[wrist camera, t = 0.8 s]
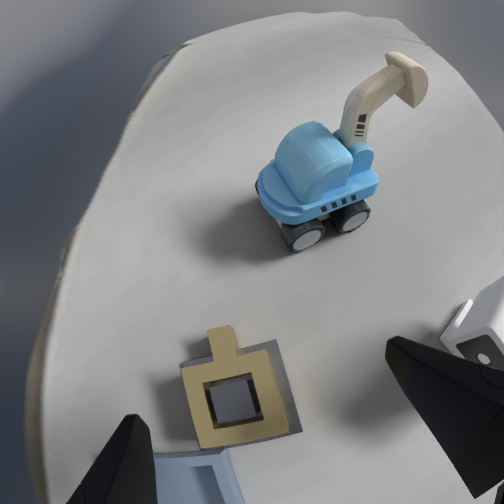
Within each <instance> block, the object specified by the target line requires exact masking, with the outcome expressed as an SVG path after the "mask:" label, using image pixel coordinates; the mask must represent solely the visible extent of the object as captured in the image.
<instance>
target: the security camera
mask: <svg viewBox="0 0 504 504" xmlns="http://www.w3.org/2000/svg"><path fill="white" fill-rule="evenodd" d="M440 340H441V342H442V343H443V344H444V345H445V346H446V347H447V349H448V350H449V351H450V352H451V353H452V355H455V356H458V357H461V358H464V359H467V360H470V361H473V362H476V363H477V364H478V363H479V364H482V365H485V366H489V367H492V368H496V369H500V370H504V276H503V277H501V278H500V279H498V280H497V281H495V282H494V283H492V284H491V285H489V286H488V287H486V288H485V289H483V290H482V291H480V292H479V294H478V296H477V297H476V299H475V301H474V303H473V301H472V300H471V299H469V300H467V301H466V302H464V303H463V304H462V306H461V307H460V309H459V310H458V312H457V313H456V315H455V316H454V318H453V319H452V321H451V322H450V324H449V325H448V327H447V328H446V330H445V331H444V333H443V334H442V335H441V337H440Z"/></svg>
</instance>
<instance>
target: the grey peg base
mask: <svg viewBox="0 0 504 504" xmlns="http://www.w3.org/2000/svg"><path fill="white" fill-rule="evenodd" d="M263 349H266V350H267V352H268V354H269V357H270V361H271V364H272V368H273V371H274V375H275V378H276V382H277V385H278V389H279V392H280V396H281V400H282V403H283V406H284V410H285V413H286V417H287V420H288V424H289V432H288V433H284V434H281V435H276V436H272V437H268V438H263V439H259V440H254V441H249V442H243V443H238V444H232V445H225V446H218V447H211V448H204V450H205V451H208V450H216V449H223V448H230V447H236V446H242V445H248V444H253V443H258V442H263V441H267V440H272V439H276V438H280V437H284V436H288V435H292V434H296V433H299V432H303V431H302V427H301V424H300V420H299V417H298V413H297V410H296V406H295V403H294V399H293V396H292V392H291V389H290V386H289V382H288V379H287V375H286V372H285V368H284V365H283V361H282V358H281V354H280V351H279V347H278V344H277V340H276V339H275V340H272V341H268V342H265V343H261V344H257V345H254V346H250V347H246V348H242V349H239V353H240V355H244V354H248V353H251V352H255V351H259V350H263ZM210 362H214V359H213V356H209V357H204V358H200V359H195V360H190V361H185V362H183V366H184V368H185V367H191V366H196V365H200V364H205V363H210ZM209 390H210V394H211V398H212V402H213V405H214V409H215V413H216V417H217V420H218V423H222V422H224V423H228V422H233V421H238V420H243V419H248V418H253V417H257V416H262V415H263V413H262V410H261V406H260V402H259V399H258V395H257V392H256V388H255V384H254V381H253V377H252V374H249V375H245V376H241V377H237V378H232V379H228V380H223V381H218V382H214V387H210V388H209Z"/></svg>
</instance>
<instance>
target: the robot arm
mask: <svg viewBox="0 0 504 504" xmlns="http://www.w3.org/2000/svg"><path fill="white" fill-rule="evenodd" d="M385 359H386V361H387V363H388V365H389V367H390V369H391V370H392V372H393V374H394V376H395V378H396V379H397V381H398V383H399V385H400V387H401V388H402V390H403V392H404V393H405V395H406V396H407V398H408V399H409V400H410V402H411V403H412V405H413V406H414V408H415V409H416V410H417V412H418V413H419V415H420V416H421V418H422V419H423V420H424V422H425V423H426V425H427V426H428V428H429V429H430V431H431V432H432V434H433V435H434V437H435V438H436V439H437V441H438V442H439V444H440V445H441V447H442V448H443V450H444V451H445V453H446V454H447V456H448V458H449V459H450V461H451V462H452V464H453V465H454V467H455V469H456V470H457V472H458V473H459V475H460V476H461V478H462V480H463V481H464V483H465V484H466V486H467V488H468V489H469V491H470V493H471V494H472V496H473V497H474V499H476V498H477V497H479V496H481V495H482V494H484V493H485V492H487V491H488V490H489V489H491V488H492V487H494V486H495V485H497V484H498V483H499V482H501V481H502V480H503V479H504V370H500V369H496V368H492V367H489V366H485V365H482V364H479V363H478V364H477V363H476V362H473V361H470V360H467V359H464V358H461V357H458V356H455V355H452V354H449V353H446V352H443V351H440V350H437V349H434V348H432V347H429V346H426V345H423V344H420V343H417V342H414V341H412V340H409V339H406V338H403V337H400V336H394V337H392V338H390V339H389V340H388V341H387V344H386V352H385ZM66 504H158V499H157V487H156V472H155V463H154V456H153V450H152V444H151V436H150V430H149V428H148V426H147V425H146V423H145V422H144V421H143V420H142V419H141V418H140V416H139V415H137V414H128V415H126V416H125V417H124V419H123V420H122V422H121V423H120V424H119V426H118V427H117V429H116V430H115V432H114V433H113V435H112V436H111V438H110V439H109V441H108V442H107V444H106V445H105V447H104V448H103V450H102V451H101V453H100V454H99V456H98V457H97V459H96V460H95V462H94V463H93V465H92V466H91V468H90V469H89V471H88V472H87V474H86V475H85V477H84V478H83V480H82V481H81V484H80V485H79V486H78V487H77V489H76V490H75V492H74V493H73V495H72V496H71V498H70V499H69V500H68V502H67V503H66ZM494 504H504V482H503V483H502V484H501V485H500V486H499V487H498V490H497V494H496V499H495V503H494Z"/></svg>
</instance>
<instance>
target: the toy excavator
mask: <svg viewBox="0 0 504 504" xmlns="http://www.w3.org/2000/svg"><path fill="white" fill-rule="evenodd" d="M385 57H386V60H387V64H388V66H387V67H385V68H384V69H382V70H381V71H379V72H377V73H376V74H374V75H373V76H371V77H370V78H368V79H367V80H365V81H364V82H362V83H361V84H359V85H358V86H357V87H356V88H355V89H353V90H352V92H351V93H350V94H349V96H348V98H347V100H346V102H345V106H344V111H343V116H342V121H341V126H340V129H339V130H337V131H335V132H334V133H333V134H332V133H331V132H330V131H329V130H328V129H326V128H325V127H324V126H323V125H322V124H321V123H319V122H316V121H312V122H308V123H305V124H302V125H299V126H297V127H296V128H294V129H293V130H291V131H290V132H289V133H288V134H287V135H286V136H285V137H284V139H283V140H282V141H281V143H280V145H279V147H278V149H277V151H276V155H275V159H273V160H271V162H270V164H268V165H267V166H265V167H264V168H263V169H262V170H261V172H260V173H259V176H258V179H257V181H256V183H255V188H256V191H257V194H259V198H260V201H261V203H262V205H263V207H264V208H265V210H266V211H267V212H268V213H269V214H270V215H271V216H272V217H274V218H275V219H276V221H277V223H278V224H279V226H280V228H281V237H282V238H283V240H284V242H285V243H286V245H287V247H288V248H289V250H290V251H292V252H301V251H302V250H303V249H305V248H308V247H310V246H311V245H313V244H314V243H317V242H318V241H319V240H320V239H321V238H322V237H323V236H324V233H325V227H324V226H323V225H322V223H321V222H320V221H321V220H324V219H327V218H329V217H330V219H331V220H332V222H333V224H334V225H335V227H336V228H337V230H338V232H340V233H345V232H346V231H349V230H350V231H349V232H351V231H353V230H355V229H356V228H358V227H360V226H361V225H362V224H364V222H365V221H366V220H367V219H368V217H369V213H370V212H371V209H370V208H369V207H368V205H367V204H366V203H365V201H364V200H363V199H365V198H368V197H370V196H372V195H374V193H375V191H376V188H377V185H378V182H379V178H378V176H377V175H376V173H375V172H374V171H373V170H372V169H371V168H370V167H371V164H372V161H373V157H374V152H373V150H372V149H371V148H370V147H369V146H368V145H367V144H366V143H367V135H368V129H369V122H370V118H371V116H372V114H373V112H374V111H375V110H376V109H377V108H379V107H380V106H381V105H382V104H383V103H384V102H386V101H387V100H388V99H389V98H390V97H392V96H393V95H394V94H396V95H397V96H398V97H399V98H401V99H402V100H403V101H404V102H406V103H407V104H408V105H409V106H411V107H412V108H415V107H416V106H418V105H419V104H420V103H421V101H422V100H423V99H424V97H425V95H426V92H427V89H428V75H427V73H426V71H425V69H424V68H423V67H421V66H420V65H419V64H417V63H416V62H414V61H412V60H411V59H409V58H408V57H406V56H404V55H403V54H401V53H398V52H388V53H386V54H385Z"/></svg>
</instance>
